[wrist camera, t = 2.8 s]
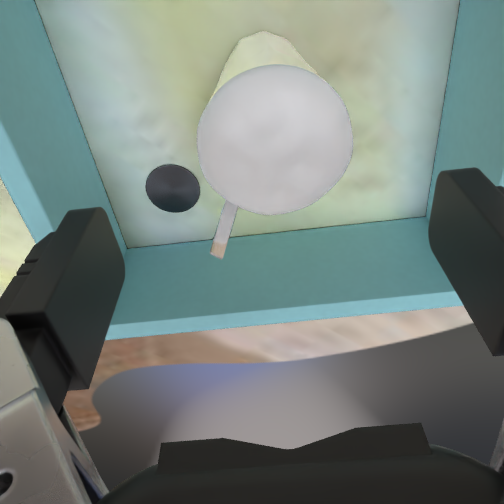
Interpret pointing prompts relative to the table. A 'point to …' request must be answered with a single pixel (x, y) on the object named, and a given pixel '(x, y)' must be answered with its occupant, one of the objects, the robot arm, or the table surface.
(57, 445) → the robot arm
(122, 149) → the table surface
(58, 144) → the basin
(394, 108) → the table surface
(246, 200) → the milkshake
